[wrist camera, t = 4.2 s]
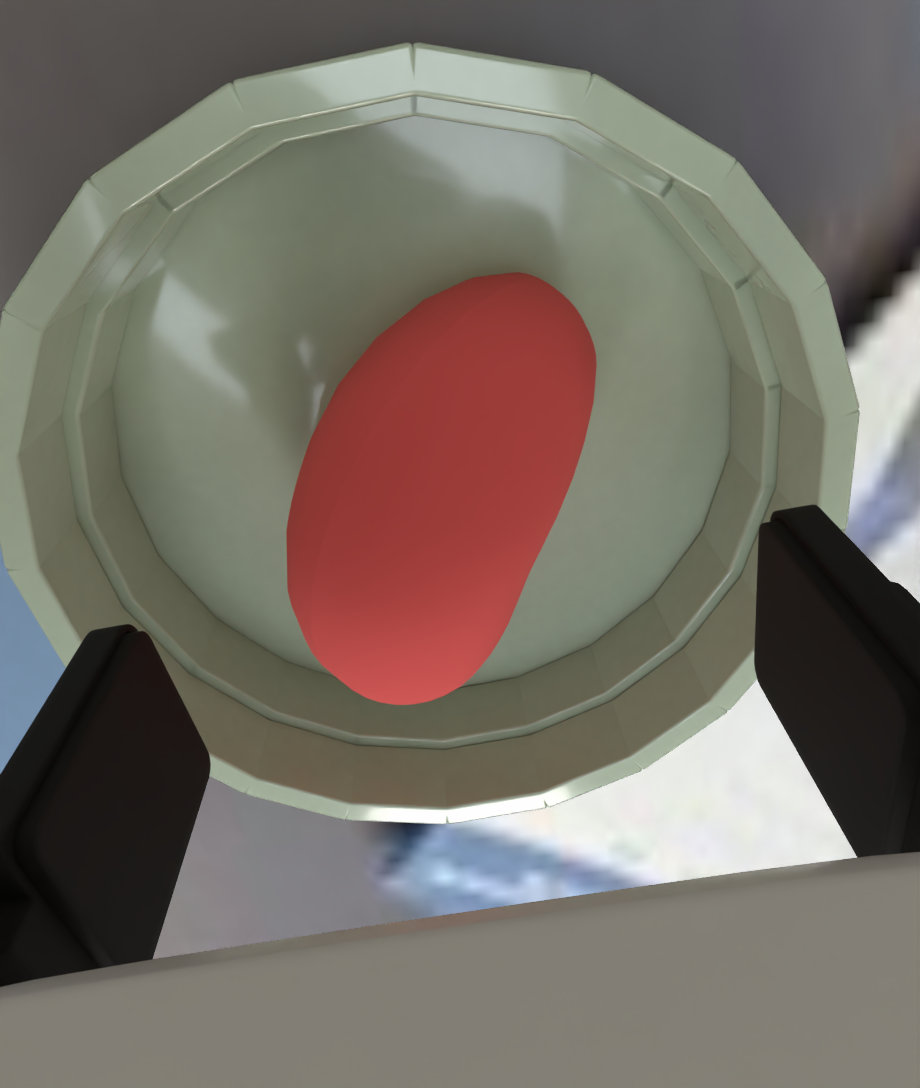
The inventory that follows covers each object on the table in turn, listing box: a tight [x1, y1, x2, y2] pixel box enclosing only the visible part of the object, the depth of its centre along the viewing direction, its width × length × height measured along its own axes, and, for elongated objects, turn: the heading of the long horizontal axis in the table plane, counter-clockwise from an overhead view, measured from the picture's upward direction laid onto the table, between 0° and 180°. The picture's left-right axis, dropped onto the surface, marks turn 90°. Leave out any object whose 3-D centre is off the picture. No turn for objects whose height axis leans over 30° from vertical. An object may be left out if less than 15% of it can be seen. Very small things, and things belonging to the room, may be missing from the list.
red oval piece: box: [286, 272, 597, 705], centre depth 15 cm, size 5×9×6 cm, turn 150°
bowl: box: [0, 42, 860, 824], centre depth 15 cm, size 15×15×4 cm
